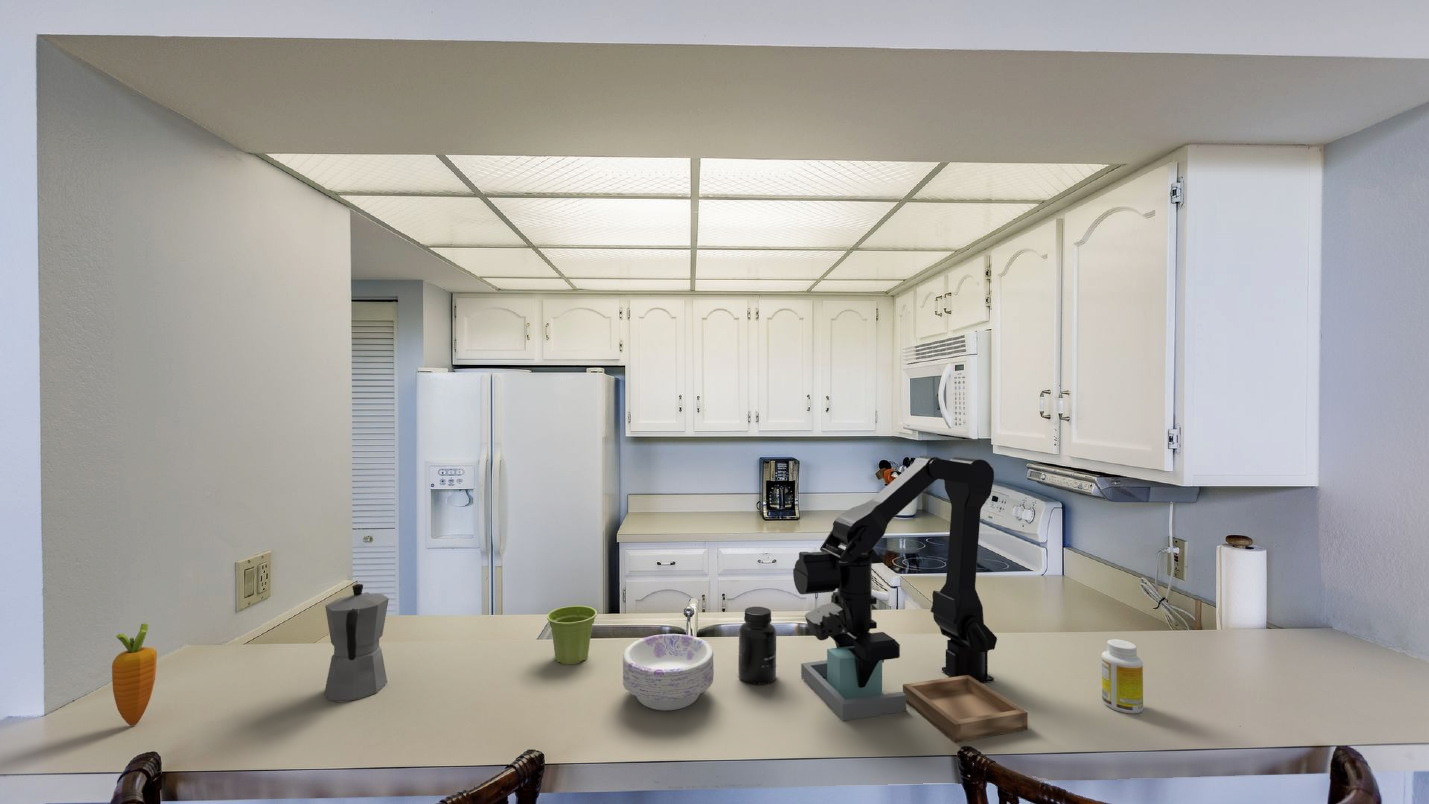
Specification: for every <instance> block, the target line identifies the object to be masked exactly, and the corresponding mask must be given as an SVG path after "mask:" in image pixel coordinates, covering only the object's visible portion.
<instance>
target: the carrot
mask: <svg viewBox="0 0 1429 804" xmlns="http://www.w3.org/2000/svg"><path fill="white" fill-rule="evenodd" d="M148 627H149V624H148V623H146V622H142V623H141V624H140V628H139V631H138V633H137V636H136V637H135V638H134V637H130V638H129V637H127V635H126V634H124V633H118V634H117V635H116V638H117V639H118V640H119V641H120V642H121V643H122V645H123V646H124V648H126V650H125V651H122V652H120V653H119V654H118V655H117V656H116V657H115V658H114V659H113V661H112V665H111V675H112V677H111V679H112V680H111V681H112V693H113V697H114V702H115V705H116V708H117V711H118V713H119V715H120V716H121V718H122V719H123V720H124V721H125V722H126V723H127V725H129V726H131V725H135V726H136V725H137V724H138V723H139V722H140V720H141V719H142V717H143V715H144V713H145V711H146V709H147V707H148V705H149V702H150V701H151V697H152V694H153V693H152V692H153V690H154V685H155V680H156V672H157V655H158V653H157V650H156V649H155V648H153V647H146V646H143V643H144V640H145V637H146V636H147V632H148V629H149V628H148Z"/></svg>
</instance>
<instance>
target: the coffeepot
mask: <svg viewBox="0 0 1429 804" xmlns="http://www.w3.org/2000/svg"><path fill="white" fill-rule="evenodd" d="M363 588H364V584H362V583H357V584H354V585H352V592H353V594H351V595H348V596H343V597H340V598H337V599H335V600H333V601H331V602H329V603H327V604H325V606H324V607H325V612H326V613H325V614H326V620H327V625H328V630H329V637H330V639H329V640H330V643H331V645H332V646H333V654H332V656H331V658H330V663H329V668H328V672H327V673H328V674H327V679H326V684H325V688H324V695H325V697H326V698H327V699H328V700H329V701H331V702H335V703H336V702H337V703H338V702H339V703H340V702H342V703H343V702H352V701H359V700H362V699H364V698H368V697H370V696H372V695H375V694H377V693H379V692H380V691H381V690H383V689H384V687H385V686H386V684H387V683H388V678H387V673H386V668H385V662H384V656H383V650H382V648H381V646H380V639H381V637H382V636H383V634H384V629H385V628H384V627H385V623H386V616H387V611H388V605H389V597H387V596H386V595H385V594H382V593H369V592H363V590H364V589H363Z"/></svg>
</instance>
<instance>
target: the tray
mask: <svg viewBox="0 0 1429 804" xmlns="http://www.w3.org/2000/svg"><path fill="white" fill-rule="evenodd" d="M902 692H903V693H904V694H906V705H908V706H910V708H911V709H913V710H914V711H916V712H917V713H919V715H921V716H922V717H923V718H924V719H925V720H927V721H928V722H929V723H930V724H932V725H933V726H934V727H935V728H936V729H938V730H939V731H940V732H942V733H943V734H944V735H945V736H947V737H948V738H949V739H950V740H951V741H952V742H954V743H961V742H966V741H971V740H976V739H981V738H987V737H993V736H998V735H1005V734H1010V733H1016V732H1021V731H1027V730H1028V729H1029V728H1028V725H1029V724H1028V723H1029V721H1028V720H1029V715H1028V713H1029V712H1028V711H1026V709H1024V708H1021V707H1020V706H1018V704H1015V703H1014V702H1012V700H1009V699H1007V698H1005V697H1004V696H1002V695H1001V694H1000V693H998V692H996V691H995V690H993V689H991V688H990V687H989V686H987V685H985V683H980V682H979V681H977V680H976V679H974V678H972V677H971V676H969V675H964V676H957V677H951V676H949V677H946V678H937V679H932V680H924V681H916V682H910V683H904V684H902Z"/></svg>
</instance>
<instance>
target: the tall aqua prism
mask: <svg viewBox="0 0 1429 804" xmlns="http://www.w3.org/2000/svg"><path fill="white" fill-rule="evenodd" d="M848 648H854V646H848V647H839V648H837V647H833V648H827V649H826V651H827V652H826V660H827V677H826V681H827V682H828V683H829V684H830V685H831V686H832V687H833V688H834V689H835V690H836V691H837V692H838V693H839V694H840V695H841V696H842V697H843V698H844V699H845V700H849V699H855V698H862V697H869V696H876V695H883V663H885V660H880V661H879V662H878V664H877V665H876V667H875V669H874V671H873V673H872V675H871V676H870V678H869V680H868V682H867V684H866V686H865V687H863V688H860V687H859V686H858V681H857V673H856V664H855V657H854V656H853V655H852V654H851V653H850V652H849V651H848Z"/></svg>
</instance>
